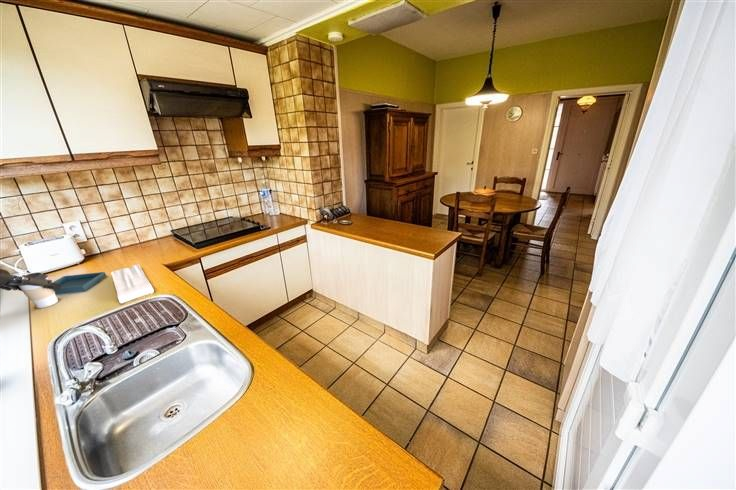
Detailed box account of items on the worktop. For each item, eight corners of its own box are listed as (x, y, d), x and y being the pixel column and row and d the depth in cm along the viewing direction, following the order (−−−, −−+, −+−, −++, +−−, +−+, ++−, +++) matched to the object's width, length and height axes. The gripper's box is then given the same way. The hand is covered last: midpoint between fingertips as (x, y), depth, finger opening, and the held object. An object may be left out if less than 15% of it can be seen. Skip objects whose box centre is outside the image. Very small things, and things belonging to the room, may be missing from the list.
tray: (40, 296, 128) (36, 291, 127) (66, 281, 142) (63, 276, 140) (85, 291, 131) (82, 286, 130) (107, 276, 144) (104, 271, 143)
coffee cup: (60, 295, 128) (44, 268, 122) (62, 302, 123) (45, 274, 117) (32, 304, 122) (13, 276, 116) (32, 312, 117) (13, 283, 111)
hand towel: (138, 262, 150) (152, 287, 125) (141, 268, 152) (155, 293, 126) (109, 270, 142) (118, 299, 117) (112, 276, 144) (121, 306, 118)
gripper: (-50, 289, 100) (18, 300, 121) (16, 282, 102) (72, 293, 123) (-42, 270, 102) (23, 284, 123) (22, 264, 105) (76, 278, 126)
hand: (48, 288), depth 123 cm, fingers closed on coffee cup, 9 cm apart
